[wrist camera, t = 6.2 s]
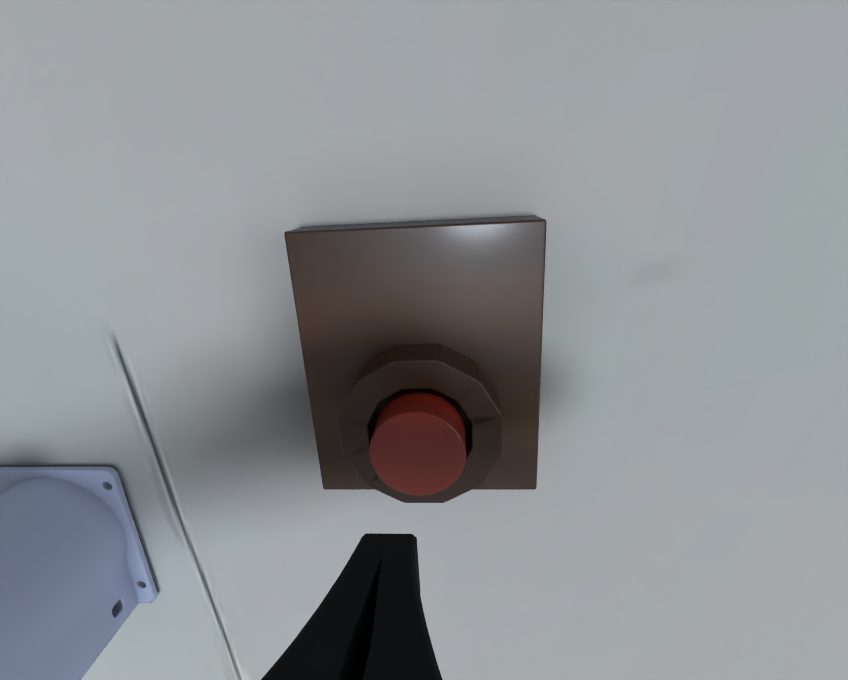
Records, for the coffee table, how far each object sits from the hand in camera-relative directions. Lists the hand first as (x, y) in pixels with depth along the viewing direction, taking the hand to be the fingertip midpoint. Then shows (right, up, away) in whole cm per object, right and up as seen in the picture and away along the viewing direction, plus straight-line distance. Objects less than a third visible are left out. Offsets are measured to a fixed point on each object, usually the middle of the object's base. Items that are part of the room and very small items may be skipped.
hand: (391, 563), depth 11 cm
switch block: (+1, +5, +9) cm, 11 cm away
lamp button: (+1, +2, +6) cm, 7 cm away
